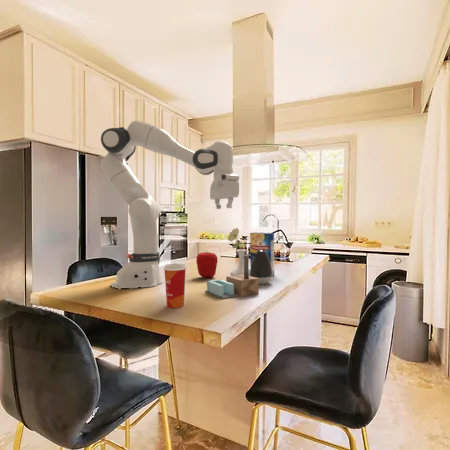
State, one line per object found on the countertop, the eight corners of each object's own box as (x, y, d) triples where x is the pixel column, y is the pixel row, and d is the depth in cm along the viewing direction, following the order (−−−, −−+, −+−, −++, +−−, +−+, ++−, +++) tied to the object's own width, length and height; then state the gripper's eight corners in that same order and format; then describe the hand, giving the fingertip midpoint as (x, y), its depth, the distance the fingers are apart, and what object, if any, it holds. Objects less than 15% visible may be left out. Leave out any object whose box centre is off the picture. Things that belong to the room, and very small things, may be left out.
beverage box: (271, 277, 158) (270, 233, 157) (250, 275, 162) (249, 233, 162) (274, 274, 164) (274, 232, 164) (254, 273, 168) (254, 232, 168)
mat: (222, 299, 115) (222, 297, 115) (205, 291, 127) (205, 290, 127) (238, 296, 119) (238, 295, 119) (220, 289, 131) (220, 288, 131)
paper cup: (165, 303, 110) (164, 263, 110) (187, 302, 111) (186, 262, 111) (162, 309, 103) (162, 266, 102) (186, 308, 103) (185, 266, 103)
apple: (192, 277, 158) (192, 250, 157) (206, 275, 165) (206, 249, 165) (207, 280, 151) (207, 252, 150) (221, 277, 158) (221, 250, 158)
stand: (241, 296, 119) (241, 256, 118) (226, 290, 128) (226, 254, 128) (258, 293, 123) (258, 255, 123) (242, 288, 132) (242, 253, 132)
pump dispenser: (245, 282, 145) (245, 249, 145) (265, 280, 150) (264, 248, 149) (256, 286, 136) (256, 251, 136) (276, 284, 140) (276, 250, 140)
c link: (207, 290, 127) (207, 280, 127) (220, 289, 130) (220, 279, 129) (220, 296, 117) (220, 285, 117) (234, 294, 120) (234, 284, 120)
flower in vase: (244, 274, 166) (243, 227, 165) (257, 277, 156) (257, 227, 156) (223, 277, 159) (222, 227, 158) (235, 280, 149) (235, 228, 149)
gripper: (206, 180, 150) (206, 209, 150) (229, 174, 132) (229, 207, 132) (218, 181, 153) (218, 209, 153) (241, 175, 135) (241, 207, 136)
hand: (223, 208), depth 143 cm, fingers open, 8 cm apart
